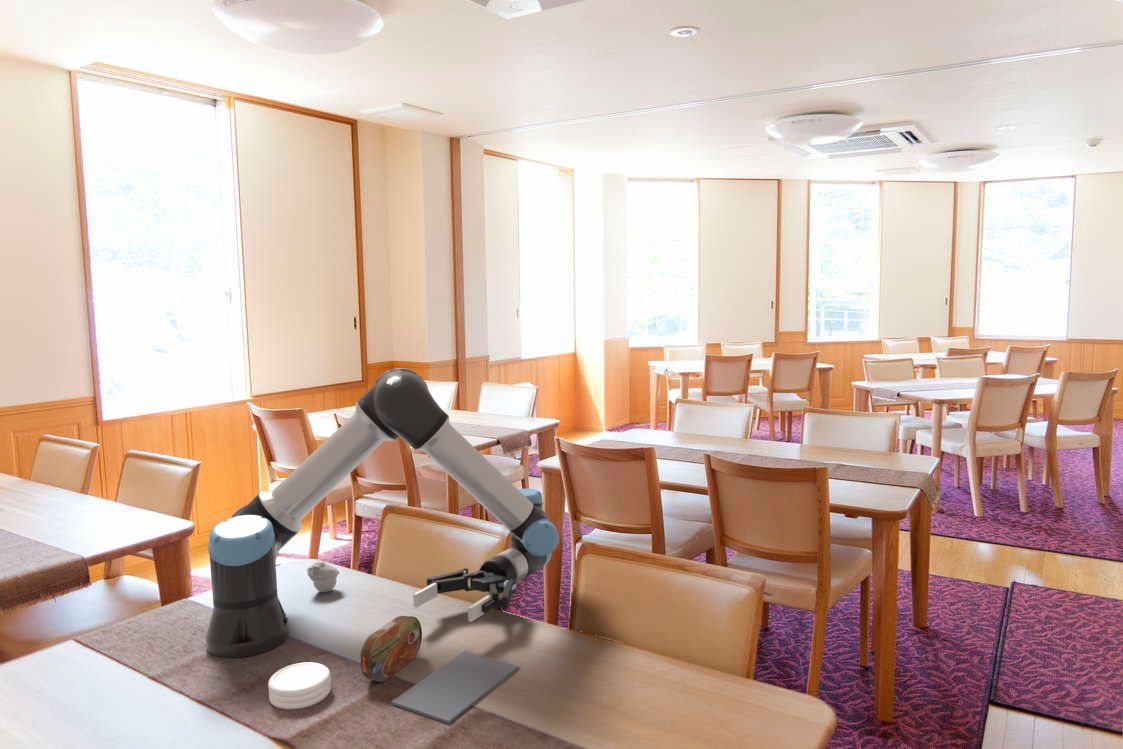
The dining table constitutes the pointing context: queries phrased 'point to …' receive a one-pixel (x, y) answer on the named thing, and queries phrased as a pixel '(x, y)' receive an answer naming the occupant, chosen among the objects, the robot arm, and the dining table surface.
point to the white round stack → (299, 685)
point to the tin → (391, 648)
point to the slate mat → (455, 686)
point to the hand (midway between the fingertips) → (441, 607)
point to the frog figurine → (323, 576)
